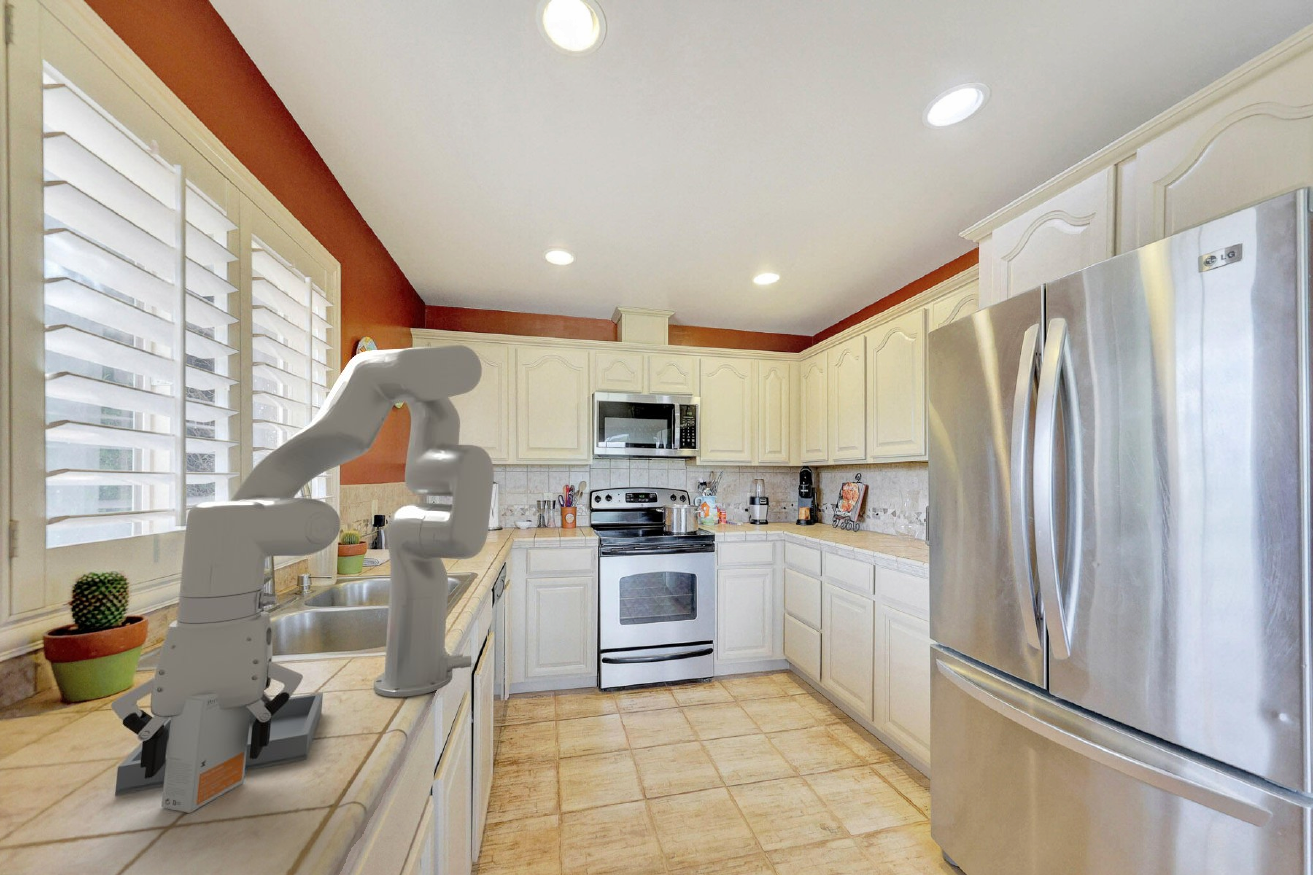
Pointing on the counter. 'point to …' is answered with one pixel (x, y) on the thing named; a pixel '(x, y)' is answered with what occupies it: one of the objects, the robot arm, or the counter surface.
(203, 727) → the skincare box
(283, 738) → the tray
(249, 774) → the counter surface
